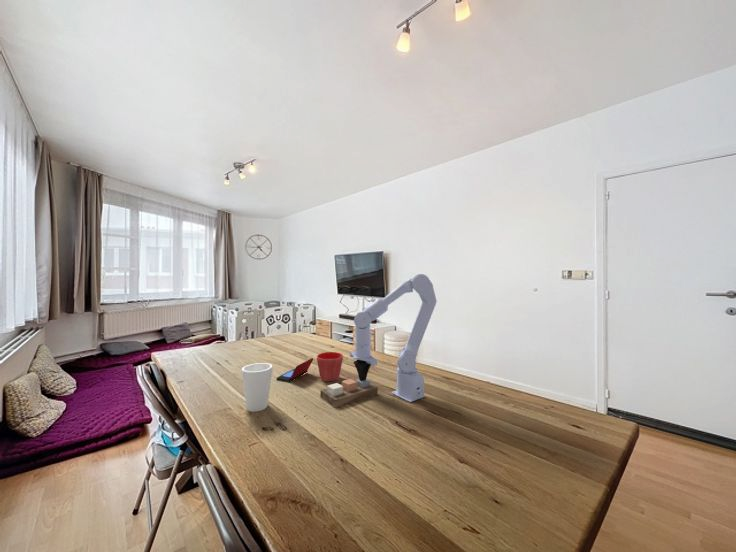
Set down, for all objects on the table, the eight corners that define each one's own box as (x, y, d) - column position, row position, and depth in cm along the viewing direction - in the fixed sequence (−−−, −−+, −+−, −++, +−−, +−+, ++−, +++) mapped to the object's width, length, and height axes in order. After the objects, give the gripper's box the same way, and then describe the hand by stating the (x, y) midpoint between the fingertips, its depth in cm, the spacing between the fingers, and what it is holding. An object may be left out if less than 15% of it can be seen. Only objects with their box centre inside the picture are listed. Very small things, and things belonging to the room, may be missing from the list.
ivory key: (343, 395, 98) (343, 386, 98) (333, 398, 96) (333, 389, 96) (337, 391, 101) (337, 382, 101) (327, 394, 99) (327, 385, 99)
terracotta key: (357, 390, 102) (357, 381, 102) (347, 393, 99) (347, 384, 99) (350, 386, 105) (350, 378, 105) (341, 389, 103) (341, 381, 103)
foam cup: (235, 409, 91) (235, 369, 91) (258, 398, 100) (258, 361, 99) (255, 416, 87) (255, 374, 87) (278, 404, 95) (278, 365, 95)
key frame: (377, 393, 104) (377, 386, 104) (335, 407, 93) (335, 400, 93) (361, 385, 112) (361, 378, 112) (320, 397, 101) (320, 390, 101)
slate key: (370, 388, 106) (370, 380, 106) (361, 391, 103) (361, 382, 103) (363, 385, 109) (363, 377, 109) (355, 387, 106) (355, 379, 106)
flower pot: (341, 383, 114) (341, 359, 114) (314, 383, 114) (314, 358, 114) (344, 374, 124) (344, 351, 124) (319, 373, 125) (319, 351, 125)
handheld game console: (294, 371, 129) (294, 354, 129) (314, 374, 125) (314, 357, 125) (275, 380, 117) (275, 362, 117) (296, 384, 113) (296, 365, 113)
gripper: (343, 341, 109) (343, 376, 109) (366, 349, 98) (366, 389, 98) (358, 339, 114) (357, 373, 114) (381, 346, 102) (381, 384, 102)
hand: (362, 380), depth 106 cm, fingers closed, pressing on slate key
